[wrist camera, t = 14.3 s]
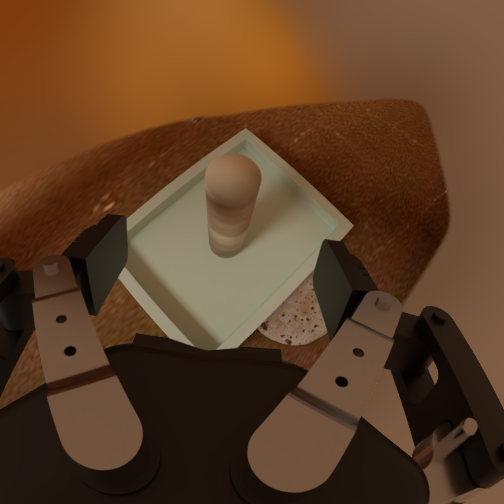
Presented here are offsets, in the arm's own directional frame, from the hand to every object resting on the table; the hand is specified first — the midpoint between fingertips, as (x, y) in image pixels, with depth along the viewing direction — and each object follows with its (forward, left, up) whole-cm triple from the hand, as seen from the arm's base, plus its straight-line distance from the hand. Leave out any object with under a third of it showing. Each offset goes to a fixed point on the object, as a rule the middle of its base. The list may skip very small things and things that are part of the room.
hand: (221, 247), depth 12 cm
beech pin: (-4, +2, -13) cm, 14 cm away
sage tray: (-4, +2, -14) cm, 15 cm away
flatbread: (+3, +6, -15) cm, 16 cm away
